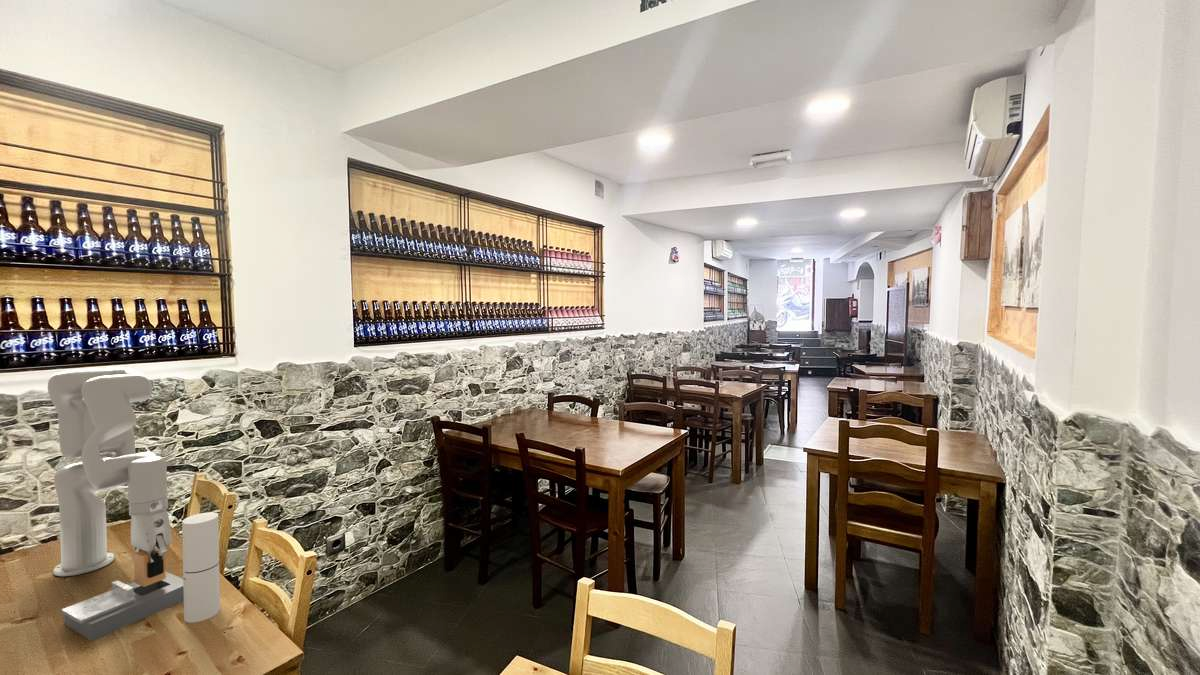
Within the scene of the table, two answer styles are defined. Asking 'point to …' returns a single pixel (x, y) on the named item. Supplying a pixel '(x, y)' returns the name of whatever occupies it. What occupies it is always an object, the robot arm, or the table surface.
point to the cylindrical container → (201, 566)
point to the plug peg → (145, 569)
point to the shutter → (101, 603)
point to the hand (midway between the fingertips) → (150, 572)
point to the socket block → (133, 607)
